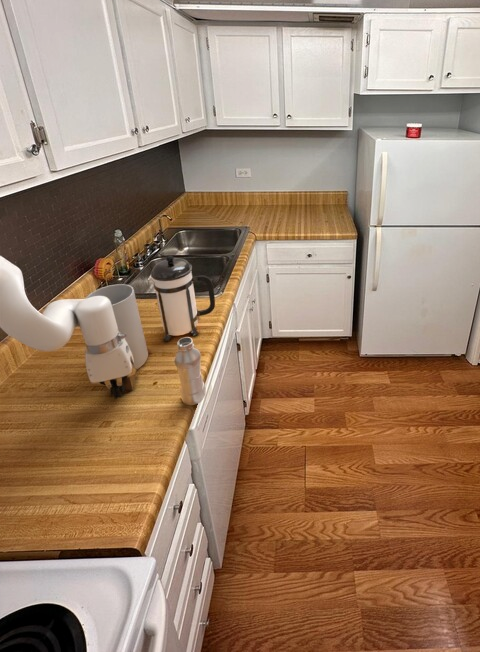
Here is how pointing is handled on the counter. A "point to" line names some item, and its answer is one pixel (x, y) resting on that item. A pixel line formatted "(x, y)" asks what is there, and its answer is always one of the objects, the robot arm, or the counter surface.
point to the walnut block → (129, 383)
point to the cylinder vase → (126, 318)
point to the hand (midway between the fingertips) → (119, 394)
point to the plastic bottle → (190, 372)
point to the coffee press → (178, 296)
